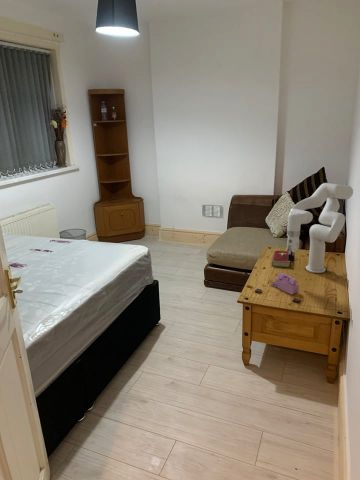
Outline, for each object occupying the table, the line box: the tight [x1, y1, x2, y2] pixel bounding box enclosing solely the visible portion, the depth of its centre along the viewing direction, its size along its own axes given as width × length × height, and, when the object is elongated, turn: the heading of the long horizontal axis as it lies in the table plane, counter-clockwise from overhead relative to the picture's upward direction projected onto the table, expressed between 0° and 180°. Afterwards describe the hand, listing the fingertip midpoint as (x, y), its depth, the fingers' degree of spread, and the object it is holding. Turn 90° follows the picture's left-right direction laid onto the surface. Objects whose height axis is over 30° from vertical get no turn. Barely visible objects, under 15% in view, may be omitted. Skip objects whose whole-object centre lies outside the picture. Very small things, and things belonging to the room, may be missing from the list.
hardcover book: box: [271, 249, 291, 269], centre depth 257 cm, size 12×21×4 cm, turn 162°
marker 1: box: [254, 288, 263, 294], centre depth 216 cm, size 3×3×1 cm
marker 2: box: [292, 297, 301, 304], centre depth 204 cm, size 3×3×1 cm
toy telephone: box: [270, 272, 299, 295], centre depth 217 cm, size 18×6×10 cm, turn 32°
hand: (291, 260), depth 222 cm, fingers closed
